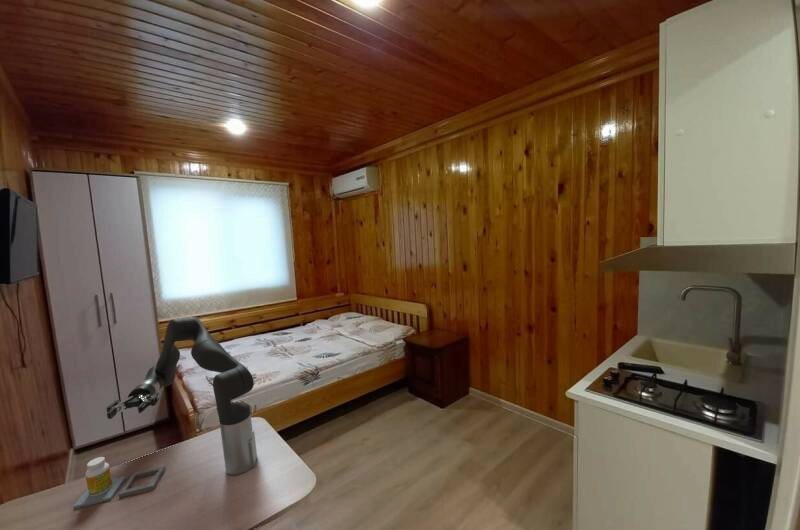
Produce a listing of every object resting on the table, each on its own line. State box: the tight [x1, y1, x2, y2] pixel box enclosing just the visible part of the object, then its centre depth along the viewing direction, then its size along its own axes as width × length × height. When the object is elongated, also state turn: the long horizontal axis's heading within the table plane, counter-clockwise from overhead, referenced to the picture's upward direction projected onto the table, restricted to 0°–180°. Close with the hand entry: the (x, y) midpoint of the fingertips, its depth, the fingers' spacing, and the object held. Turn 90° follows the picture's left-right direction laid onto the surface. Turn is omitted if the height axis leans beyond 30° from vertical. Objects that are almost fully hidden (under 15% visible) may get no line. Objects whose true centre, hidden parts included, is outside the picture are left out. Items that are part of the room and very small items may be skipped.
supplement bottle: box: [84, 456, 113, 497], centre depth 100 cm, size 5×5×10 cm
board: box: [73, 475, 127, 510], centre depth 100 cm, size 9×9×1 cm
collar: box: [118, 465, 166, 498], centre depth 103 cm, size 9×9×1 cm
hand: (124, 413), depth 111 cm, fingers open, 8 cm apart
